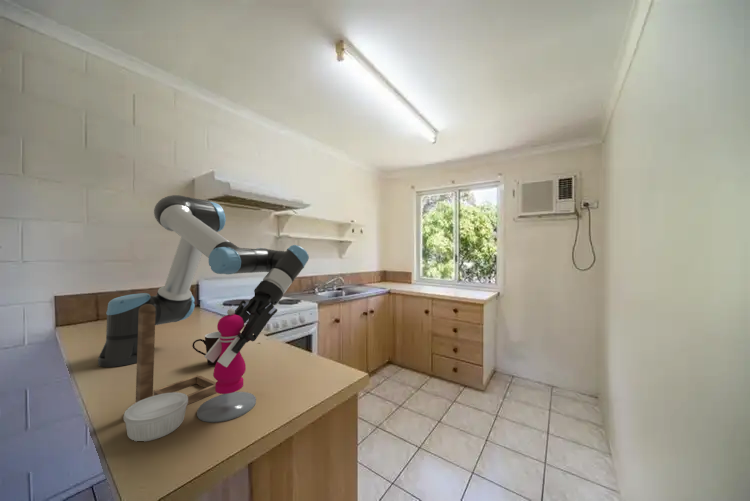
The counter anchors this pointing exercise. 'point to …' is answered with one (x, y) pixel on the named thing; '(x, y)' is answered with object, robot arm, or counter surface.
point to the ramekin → (155, 416)
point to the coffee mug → (209, 345)
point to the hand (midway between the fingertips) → (215, 361)
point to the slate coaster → (226, 407)
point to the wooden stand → (147, 363)
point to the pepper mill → (232, 375)
